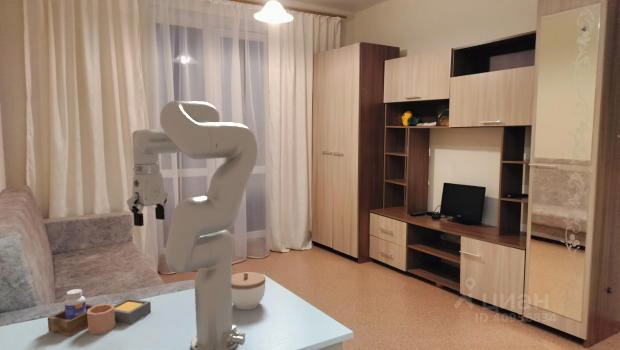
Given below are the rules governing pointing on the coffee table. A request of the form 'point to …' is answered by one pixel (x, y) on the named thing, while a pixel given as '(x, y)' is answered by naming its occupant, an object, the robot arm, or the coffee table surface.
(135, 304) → the pad
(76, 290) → the pill bottle
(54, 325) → the trough
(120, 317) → the grey square tray
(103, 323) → the octagonal terracotta pot
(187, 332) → the coffee table surface
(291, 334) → the coffee table surface
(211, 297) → the robot arm
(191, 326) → the coffee table surface
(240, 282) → the lidded bowl
